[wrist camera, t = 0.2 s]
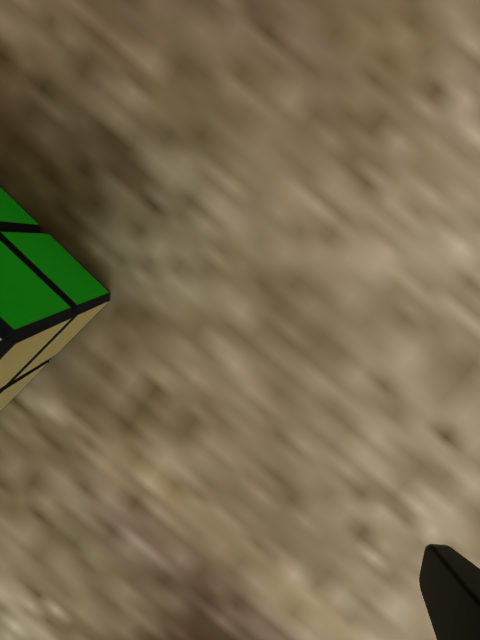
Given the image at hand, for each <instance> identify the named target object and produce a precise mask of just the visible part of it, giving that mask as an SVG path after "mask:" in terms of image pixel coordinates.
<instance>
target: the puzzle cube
mask: <svg viewBox="0 0 480 640" xmlns="http://www.w3.org/2000/svg"><path fill="white" fill-rule="evenodd" d="M109 301H110V296H109V292H108V291H107V290H106V289H105V288H104V287H103V286H102V285H101V284H100V283H99V282H98V281H97V280H96V279H95V278H94V277H93V276H92V275H91V274H90V273H89V272H88V271H87V270H86V269H85V268H84V267H82V266H81V265H80V264H79V263H78V262H77V261H76V260H75V259H74V258H73V257H72V256H71V255H70V254H69V253H68V252H67V251H66V250H65V249H64V248H63V247H62V246H61V245H60V244H59V243H58V242H57V241H56V240H55V239H54V238H53V237H52V236H51V235H50V234H45V233H40V225H39V224H38V223H37V222H36V221H35V220H34V219H33V218H32V217H31V216H30V215H29V214H28V213H27V212H26V211H25V210H24V209H23V208H22V207H20V206H19V205H18V204H17V203H16V202H15V201H14V200H13V199H12V198H11V197H10V196H9V195H8V194H7V193H6V192H5V191H4V190H3V189H2V188H1V187H0V411H1V410H2V409H3V408H4V407H5V406H6V405H7V404H8V403H9V402H10V401H11V400H12V399H13V398H14V397H15V396H16V395H17V394H18V393H19V392H20V391H21V390H22V389H23V388H24V387H25V386H26V385H27V384H28V383H29V382H30V381H31V380H32V379H33V378H34V377H35V376H36V375H37V374H38V373H39V372H40V371H41V370H42V369H43V368H44V367H45V366H46V365H47V364H48V362H49V359H50V358H51V357H53V356H54V355H56V354H57V353H58V352H59V351H60V350H61V349H62V348H63V347H64V346H65V345H66V344H67V343H68V342H69V341H70V340H71V339H72V338H73V337H74V336H75V335H76V334H77V333H78V332H79V331H80V330H81V329H82V328H83V327H84V326H85V325H86V324H87V323H88V322H89V321H90V320H91V319H92V318H93V317H94V316H95V315H96V314H97V313H98V312H99V311H100V310H101V309H102V308H103V307H104V306H105V305H106V304H107V303H108V302H109Z"/></svg>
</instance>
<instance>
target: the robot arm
mask: <svg viewBox="0 0 480 640" xmlns="http://www.w3.org/2000/svg"><path fill="white" fill-rule="evenodd" d="M419 582H420V588H421V592H422V595H423V598H424V601H425V604H426V607H427V610H428V613H429V616H430V619H431V623H432V626H433V629H434V632H435V635H436V638H437V640H480V569H479V568H478V567H477V566H475V565H474V564H473V563H471V562H470V561H469V560H467V559H466V558H464V557H463V556H462V555H460V554H459V553H458V552H456V551H455V550H454V549H452V548H451V547H449V546H447V545H438V544H429V545H427V546H426V548H425V551H424V556H423V561H422V566H421V571H420V577H419Z"/></svg>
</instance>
